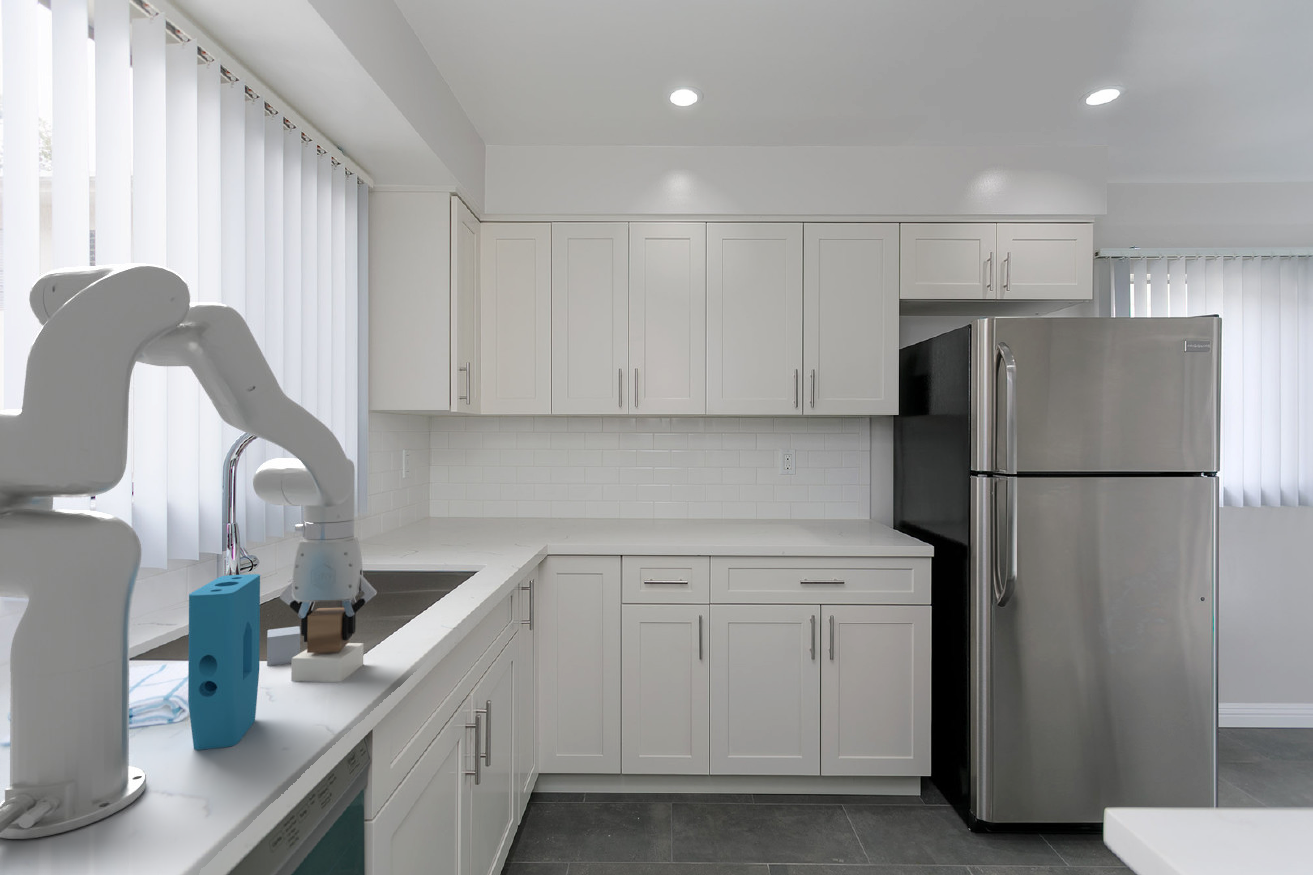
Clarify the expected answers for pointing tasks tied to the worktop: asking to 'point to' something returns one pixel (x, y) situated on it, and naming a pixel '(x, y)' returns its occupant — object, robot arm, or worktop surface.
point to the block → (223, 660)
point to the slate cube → (282, 645)
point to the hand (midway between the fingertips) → (328, 637)
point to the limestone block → (327, 664)
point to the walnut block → (326, 630)
